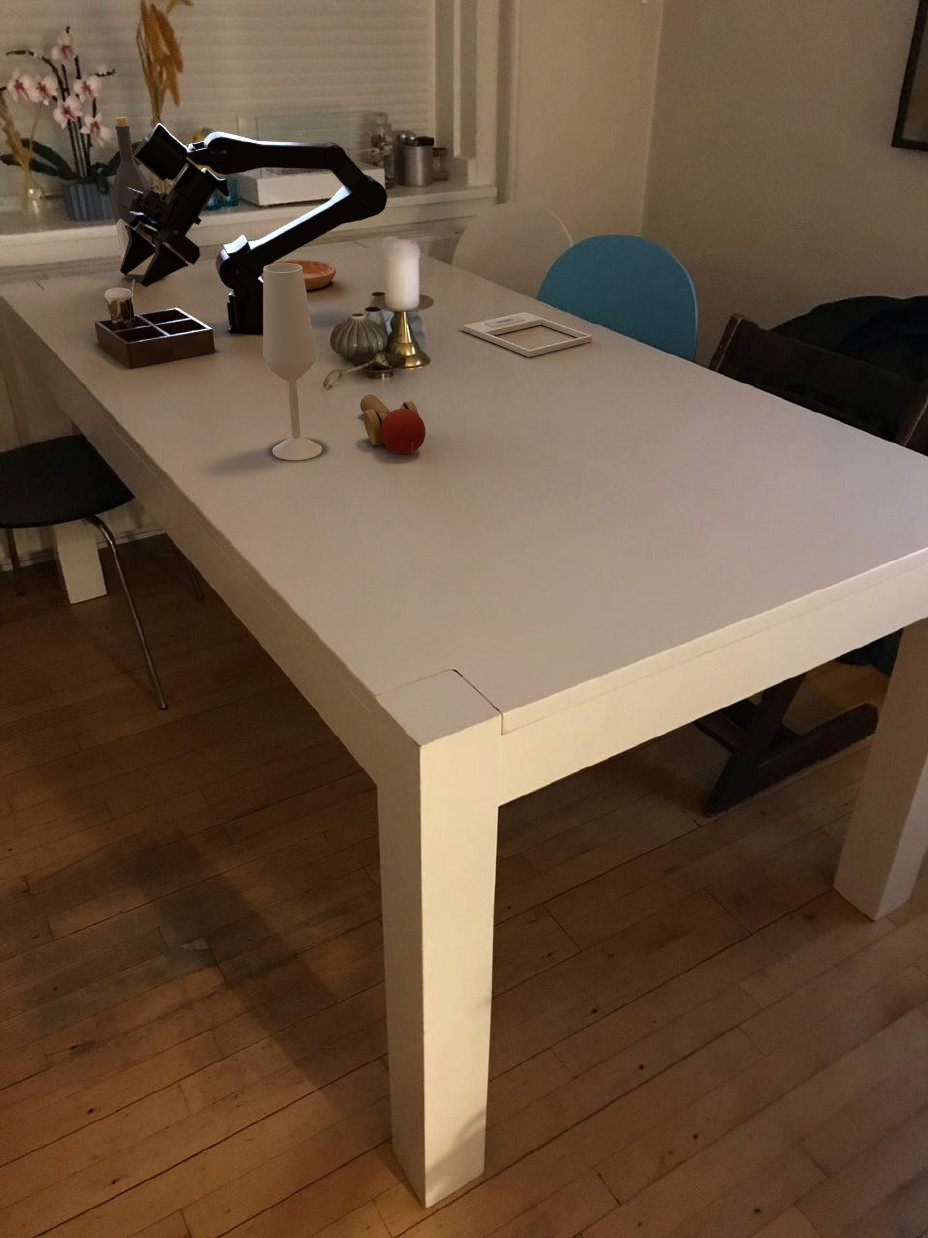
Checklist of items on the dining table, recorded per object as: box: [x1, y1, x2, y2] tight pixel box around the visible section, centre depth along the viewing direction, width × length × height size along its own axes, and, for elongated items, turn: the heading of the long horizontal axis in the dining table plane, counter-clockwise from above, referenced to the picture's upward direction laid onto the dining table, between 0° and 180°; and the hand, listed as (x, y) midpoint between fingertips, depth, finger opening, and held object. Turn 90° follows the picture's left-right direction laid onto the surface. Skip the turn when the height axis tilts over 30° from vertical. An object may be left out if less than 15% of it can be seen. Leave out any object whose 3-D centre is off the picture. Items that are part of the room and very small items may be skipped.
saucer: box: [261, 259, 337, 291], centre depth 210 cm, size 16×16×3 cm
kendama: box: [359, 393, 427, 455], centre depth 143 cm, size 8×6×18 cm
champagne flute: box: [262, 263, 323, 461], centre depth 133 cm, size 7×7×24 cm
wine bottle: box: [111, 116, 155, 283], centre depth 206 cm, size 8×8×30 cm
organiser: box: [94, 307, 216, 369], centre depth 174 cm, size 15×15×4 cm
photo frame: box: [462, 311, 593, 358], centre depth 183 cm, size 15×1×18 cm
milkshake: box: [104, 280, 135, 331], centre depth 173 cm, size 5×5×10 cm
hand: (132, 278), depth 171 cm, fingers open, 9 cm apart
